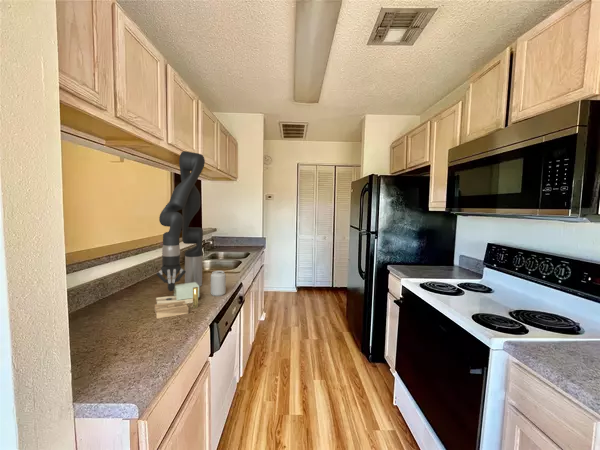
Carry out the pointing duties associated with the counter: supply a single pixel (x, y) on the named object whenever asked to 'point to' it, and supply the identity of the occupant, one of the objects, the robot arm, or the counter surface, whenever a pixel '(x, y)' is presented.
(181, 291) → the cover
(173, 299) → the board
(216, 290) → the can
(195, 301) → the peg
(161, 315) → the socket board
